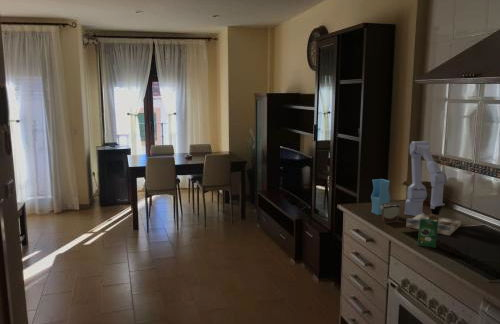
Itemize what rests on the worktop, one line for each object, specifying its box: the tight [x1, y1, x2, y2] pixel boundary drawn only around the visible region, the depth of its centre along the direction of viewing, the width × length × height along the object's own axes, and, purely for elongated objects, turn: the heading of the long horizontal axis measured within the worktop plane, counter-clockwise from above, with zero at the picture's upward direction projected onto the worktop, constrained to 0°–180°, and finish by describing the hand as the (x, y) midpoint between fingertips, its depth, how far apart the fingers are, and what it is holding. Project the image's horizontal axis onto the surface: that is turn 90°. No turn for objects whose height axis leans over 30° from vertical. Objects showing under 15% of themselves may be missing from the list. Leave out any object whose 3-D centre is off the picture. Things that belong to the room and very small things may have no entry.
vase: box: [370, 178, 391, 216], centre depth 252 cm, size 8×8×20 cm
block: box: [428, 213, 440, 220], centre depth 227 cm, size 4×4×4 cm
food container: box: [380, 202, 401, 224], centre depth 237 cm, size 12×6×10 cm, turn 110°
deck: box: [405, 213, 462, 236], centre depth 228 cm, size 22×22×4 cm
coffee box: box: [417, 218, 438, 249], centre depth 197 cm, size 8×3×13 cm, turn 68°
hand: (435, 219), depth 230 cm, fingers closed
